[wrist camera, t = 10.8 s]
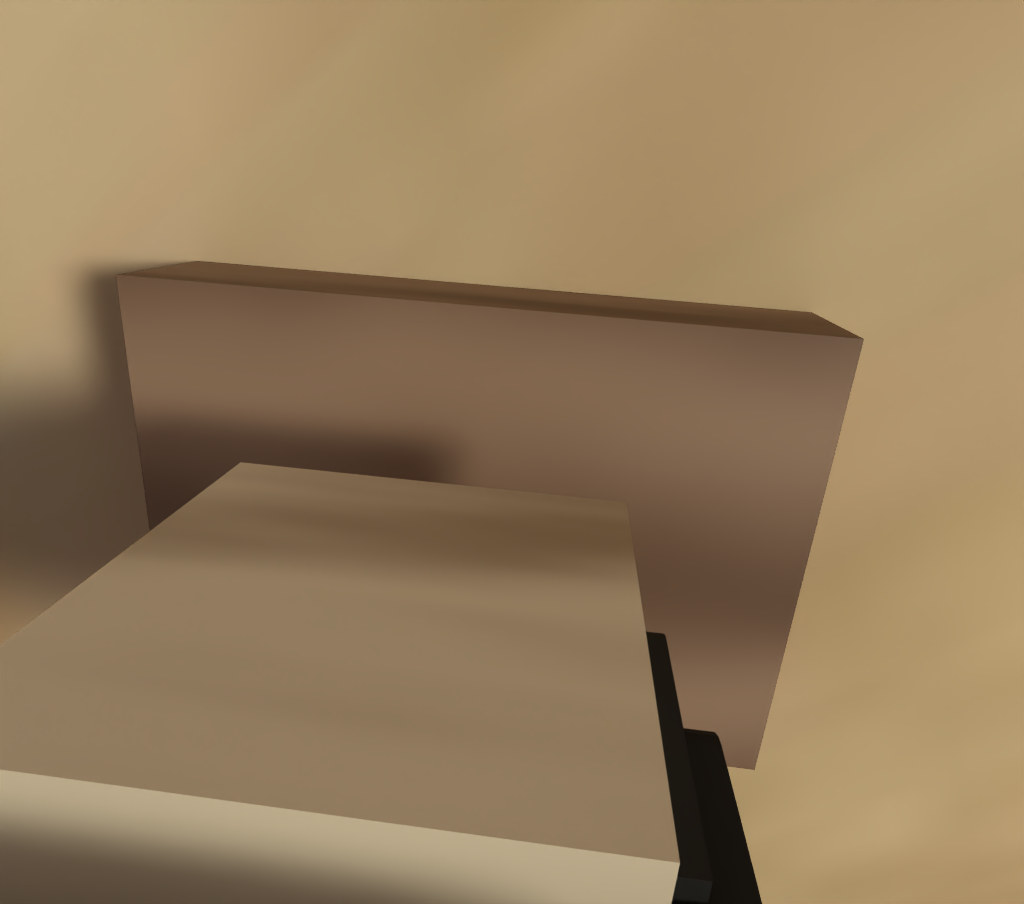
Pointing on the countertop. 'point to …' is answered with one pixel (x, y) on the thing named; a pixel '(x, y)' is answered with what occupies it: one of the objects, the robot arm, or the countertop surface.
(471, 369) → the walnut board
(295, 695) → the maple cube
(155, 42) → the countertop surface
